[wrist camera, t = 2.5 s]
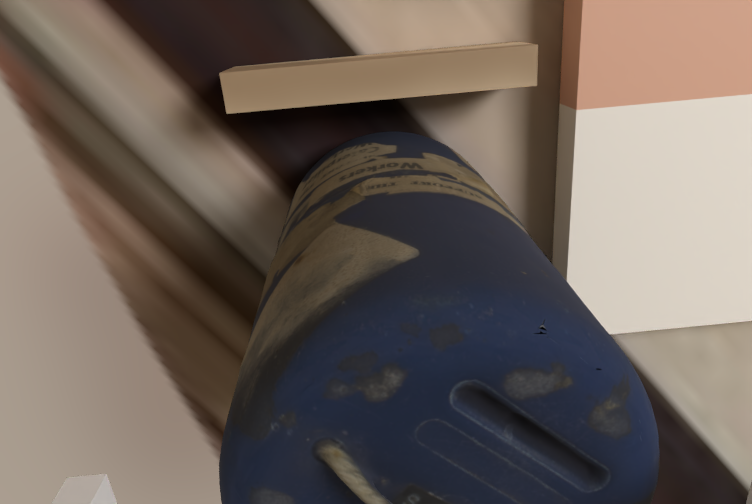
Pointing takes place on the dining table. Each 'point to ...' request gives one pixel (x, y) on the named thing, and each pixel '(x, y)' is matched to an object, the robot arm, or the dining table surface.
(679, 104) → the board
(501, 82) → the rails
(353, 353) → the canister
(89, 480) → the robot arm
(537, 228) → the dining table surface
